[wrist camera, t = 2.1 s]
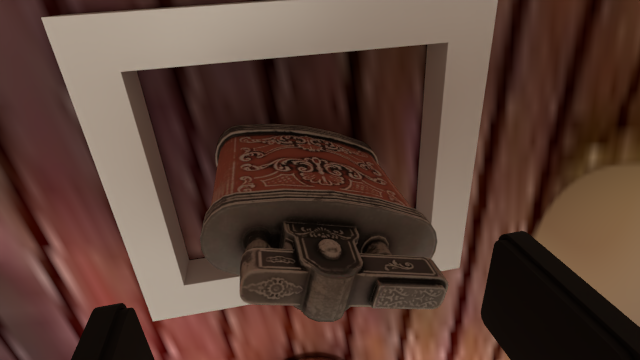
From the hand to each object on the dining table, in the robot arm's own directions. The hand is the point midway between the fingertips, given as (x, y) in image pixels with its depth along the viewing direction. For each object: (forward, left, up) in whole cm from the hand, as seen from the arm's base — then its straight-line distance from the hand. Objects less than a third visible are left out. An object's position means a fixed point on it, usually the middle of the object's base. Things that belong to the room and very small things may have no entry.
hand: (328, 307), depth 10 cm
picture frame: (-1, 0, -10) cm, 10 cm away
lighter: (-1, 0, -11) cm, 11 cm away
